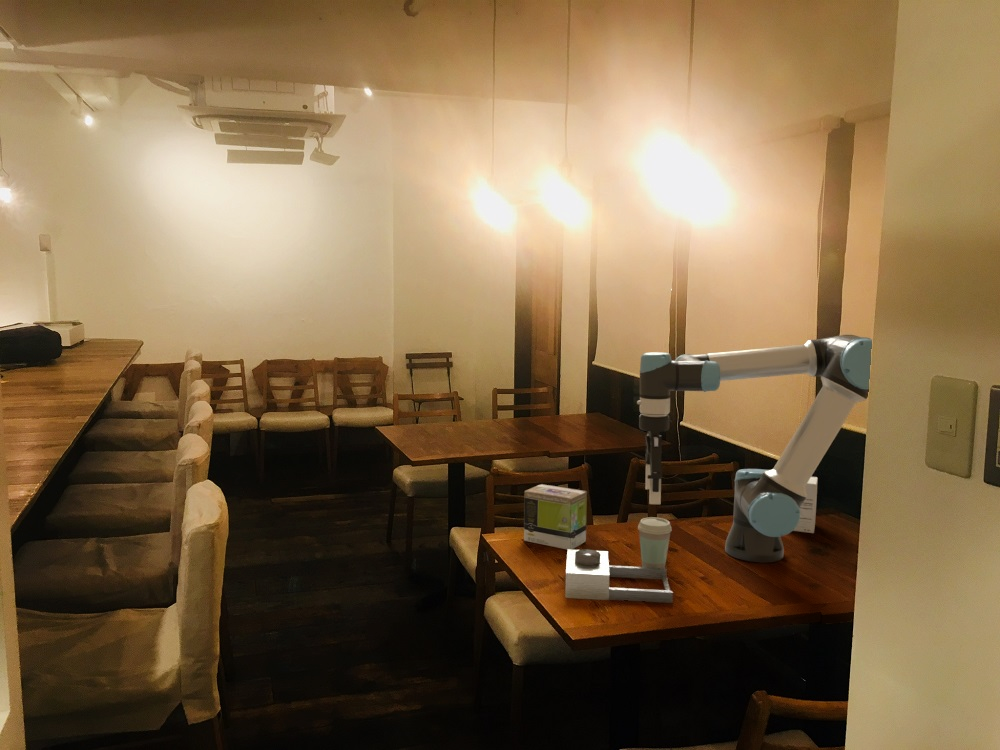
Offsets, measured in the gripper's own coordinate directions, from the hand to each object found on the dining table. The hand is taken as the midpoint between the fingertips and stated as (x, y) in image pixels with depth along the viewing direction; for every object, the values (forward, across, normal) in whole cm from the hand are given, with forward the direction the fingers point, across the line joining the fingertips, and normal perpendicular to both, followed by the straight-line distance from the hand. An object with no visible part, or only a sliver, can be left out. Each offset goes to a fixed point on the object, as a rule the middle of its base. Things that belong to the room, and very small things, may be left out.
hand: (652, 496), depth 205 cm
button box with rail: (+18, +15, -9) cm, 26 cm away
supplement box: (+20, -39, +46) cm, 64 cm away
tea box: (+18, -16, -26) cm, 35 cm away
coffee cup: (+19, 0, 0) cm, 19 cm away
